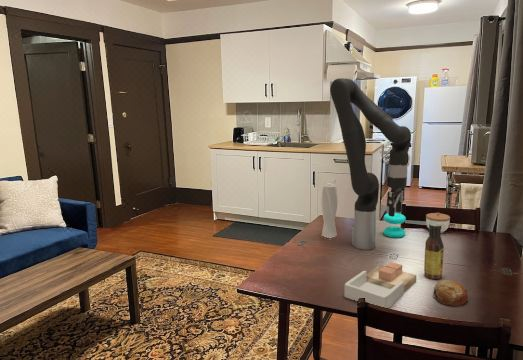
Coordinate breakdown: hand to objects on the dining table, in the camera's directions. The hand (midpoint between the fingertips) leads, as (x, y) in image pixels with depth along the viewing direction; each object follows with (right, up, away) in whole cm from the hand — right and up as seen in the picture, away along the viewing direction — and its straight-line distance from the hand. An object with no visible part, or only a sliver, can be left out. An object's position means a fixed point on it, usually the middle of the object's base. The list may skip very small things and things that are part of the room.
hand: (395, 214), depth 161 cm
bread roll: (+6, -25, -34) cm, 43 cm away
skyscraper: (-22, -14, +27) cm, 38 cm away
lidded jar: (+31, -11, +30) cm, 45 cm away
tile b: (-11, -21, -24) cm, 33 cm away
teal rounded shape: (+9, -13, +26) cm, 31 cm away
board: (-9, -23, -21) cm, 32 cm away
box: (-18, -25, -30) cm, 43 cm away
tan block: (-8, -20, -20) cm, 29 cm away
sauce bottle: (+8, -22, -18) cm, 29 cm away
